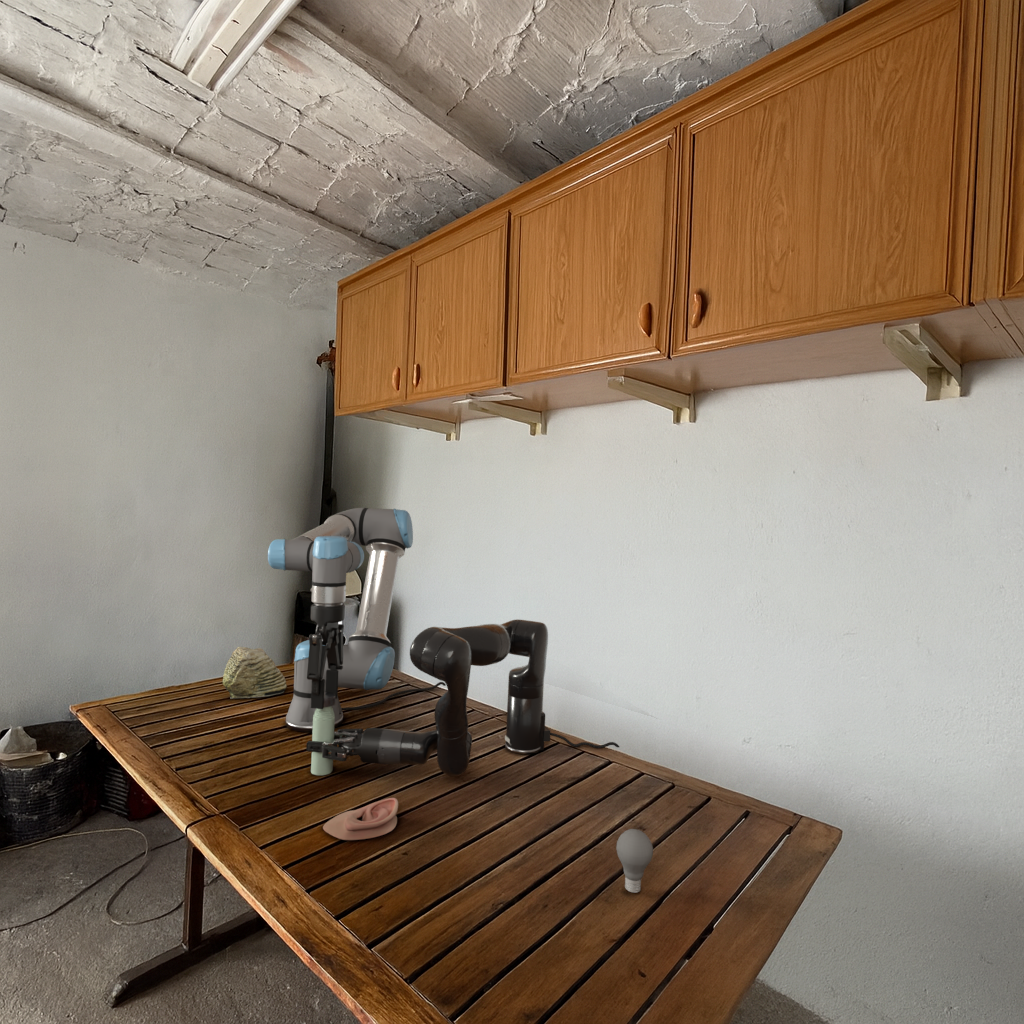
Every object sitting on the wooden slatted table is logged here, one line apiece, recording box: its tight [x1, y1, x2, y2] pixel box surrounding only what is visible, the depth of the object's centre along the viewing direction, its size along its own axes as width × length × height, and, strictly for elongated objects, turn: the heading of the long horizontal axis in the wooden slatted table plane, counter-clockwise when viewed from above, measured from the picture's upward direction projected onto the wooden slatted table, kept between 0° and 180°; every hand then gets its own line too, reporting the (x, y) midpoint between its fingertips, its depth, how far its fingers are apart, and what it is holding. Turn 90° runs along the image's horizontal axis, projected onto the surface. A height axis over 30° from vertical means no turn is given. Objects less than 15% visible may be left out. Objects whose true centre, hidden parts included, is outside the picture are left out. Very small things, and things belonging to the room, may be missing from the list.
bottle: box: [310, 706, 335, 776], centre depth 146 cm, size 5×5×17 cm
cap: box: [324, 692, 335, 707], centre depth 146 cm, size 5×5×2 cm
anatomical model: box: [322, 797, 399, 841], centre depth 122 cm, size 13×4×12 cm
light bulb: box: [615, 828, 654, 894], centre depth 106 cm, size 6×6×10 cm
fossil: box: [222, 646, 288, 699], centre depth 198 cm, size 9×18×15 cm, turn 132°
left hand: (324, 702), depth 146 cm, fingers open, 7 cm apart
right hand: (311, 741), depth 146 cm, fingers closed on bottle, 4 cm apart
